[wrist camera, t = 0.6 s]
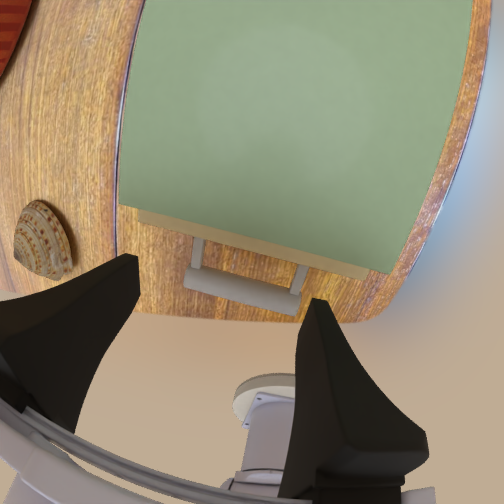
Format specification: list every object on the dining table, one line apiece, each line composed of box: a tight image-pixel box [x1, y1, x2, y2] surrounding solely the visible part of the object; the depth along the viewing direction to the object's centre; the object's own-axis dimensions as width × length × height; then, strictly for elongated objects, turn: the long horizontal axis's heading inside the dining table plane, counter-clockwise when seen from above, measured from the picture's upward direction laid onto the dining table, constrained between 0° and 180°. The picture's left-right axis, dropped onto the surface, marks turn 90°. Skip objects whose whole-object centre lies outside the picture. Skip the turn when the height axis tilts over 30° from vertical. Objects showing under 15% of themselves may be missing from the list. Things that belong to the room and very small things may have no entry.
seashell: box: [14, 201, 73, 281], centre depth 24 cm, size 8×6×8 cm
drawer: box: [138, 209, 370, 316], centre depth 15 cm, size 18×11×7 cm, turn 168°
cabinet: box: [119, 0, 473, 275], centre depth 12 cm, size 14×13×9 cm
